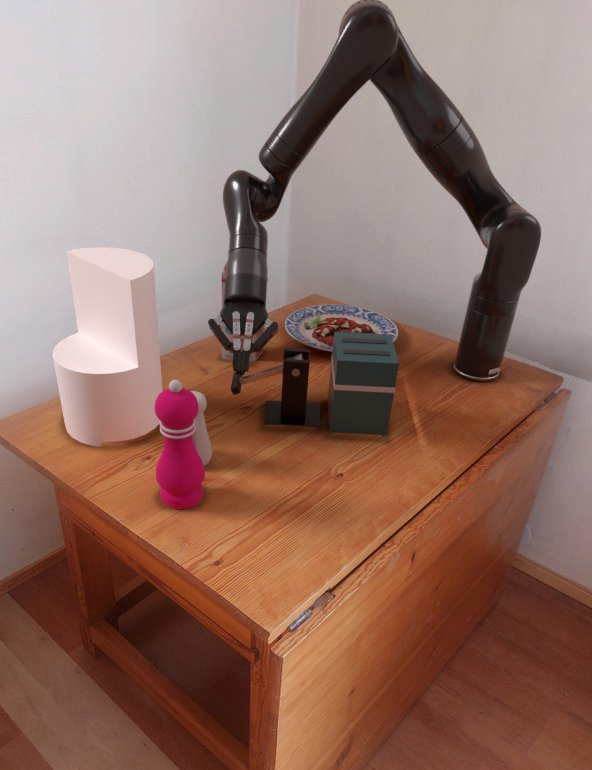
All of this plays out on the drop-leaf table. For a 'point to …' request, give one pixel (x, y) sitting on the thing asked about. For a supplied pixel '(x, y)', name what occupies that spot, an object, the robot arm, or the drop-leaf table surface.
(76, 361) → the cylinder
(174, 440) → the pepper mill
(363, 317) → the ceramic plate
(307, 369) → the bracket
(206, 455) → the salt shaker
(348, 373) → the toaster
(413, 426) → the drop-leaf table surface
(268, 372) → the lever
